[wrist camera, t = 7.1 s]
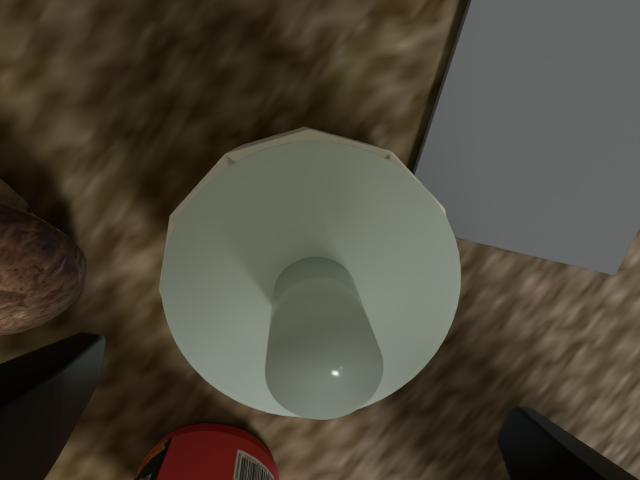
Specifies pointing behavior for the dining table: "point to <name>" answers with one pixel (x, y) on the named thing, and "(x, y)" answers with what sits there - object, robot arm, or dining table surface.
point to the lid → (311, 279)
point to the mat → (541, 130)
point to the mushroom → (34, 267)
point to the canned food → (208, 455)
